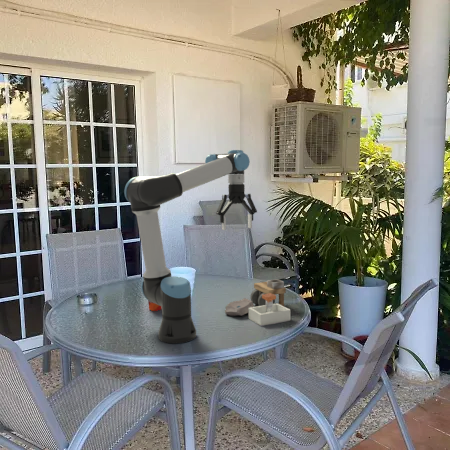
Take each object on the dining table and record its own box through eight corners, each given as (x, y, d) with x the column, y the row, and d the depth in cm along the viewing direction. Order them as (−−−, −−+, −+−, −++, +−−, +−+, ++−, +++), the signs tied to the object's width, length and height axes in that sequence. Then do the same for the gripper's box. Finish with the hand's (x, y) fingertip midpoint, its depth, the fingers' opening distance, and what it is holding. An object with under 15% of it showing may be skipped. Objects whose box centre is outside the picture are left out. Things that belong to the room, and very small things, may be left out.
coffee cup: (147, 312, 210) (145, 281, 208) (146, 307, 218) (145, 277, 216) (164, 310, 211) (163, 280, 210) (163, 306, 219) (162, 276, 218)
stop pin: (267, 320, 193) (267, 297, 192) (262, 317, 197) (262, 294, 196) (276, 318, 195) (275, 295, 193) (271, 316, 199) (270, 293, 197)
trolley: (263, 312, 206) (263, 284, 204) (248, 304, 219) (248, 278, 218) (285, 309, 210) (285, 281, 209) (269, 301, 224) (269, 275, 223)
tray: (260, 326, 188) (260, 314, 187) (248, 318, 198) (248, 307, 197) (290, 320, 194) (290, 309, 193) (277, 313, 204) (277, 303, 203)
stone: (237, 319, 197) (237, 306, 197) (223, 315, 204) (223, 302, 204) (257, 313, 206) (257, 301, 205) (243, 309, 213) (243, 297, 212)
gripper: (214, 184, 198) (215, 231, 200) (263, 183, 208) (264, 227, 210) (208, 184, 204) (209, 229, 207) (256, 182, 215) (256, 226, 217)
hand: (237, 228), depth 208 cm, fingers open, 13 cm apart
